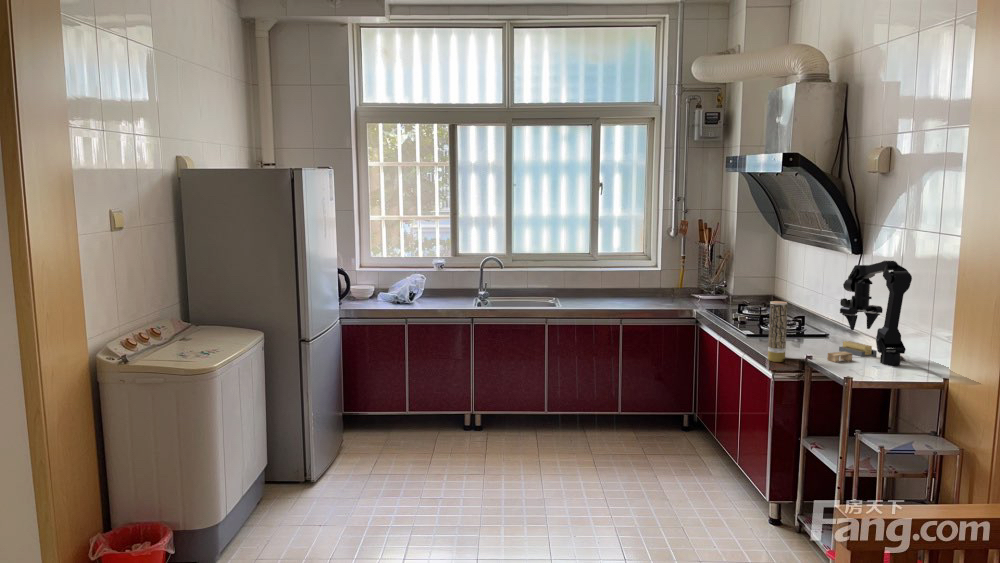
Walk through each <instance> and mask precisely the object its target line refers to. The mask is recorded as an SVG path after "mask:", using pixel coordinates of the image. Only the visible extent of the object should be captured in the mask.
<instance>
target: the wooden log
mask: <svg viewBox="0 0 1000 563" xmlns="http://www.w3.org/2000/svg"><path fill="white" fill-rule="evenodd" d="M769 302H770V303H769V320H768V321H769V323H768V344H767V345H768V346H767V360H768V361H769V362H774V363H784V362H785V359H786V350H787V348H786V346H787V327H788V302H787V301H782V300H781V301H780V300H773V301H772V300H771V301H769Z"/></svg>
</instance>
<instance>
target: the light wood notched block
mask: <svg viewBox="0 0 1000 563" xmlns="http://www.w3.org/2000/svg"><path fill="white" fill-rule="evenodd" d="M826 358H827V359H826V360H827V362H830V363H831V362H832V363H836V364H837V363H840V361H844V362H845V361H846V362H852V361H853V355H852V353H848V352H840V351H837V352H827V357H826Z"/></svg>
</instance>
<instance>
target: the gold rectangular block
mask: <svg viewBox="0 0 1000 563" xmlns="http://www.w3.org/2000/svg"><path fill="white" fill-rule="evenodd" d="M842 346H843V347H847V348H851V349H855V350H860V351H864V352H865V355H869V354H871V352H872V350H873V349H872V348H873V346H872V345H868V344H863V343H860V342H855V341H851V340H848V341H847V340H845V341H844V340H843V341H842Z"/></svg>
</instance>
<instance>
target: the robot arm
mask: <svg viewBox="0 0 1000 563" xmlns="http://www.w3.org/2000/svg"><path fill="white" fill-rule="evenodd" d="M881 273H882V277H883V279H884V280H885V281H886V283H885V286H886V287H887V290H888V292H889V293H888V294H889V295H888V301H887V306H886V310H885V311H886V312H885V316H884V323H883V324H884V325H883V326H882V327H879V328H878V329H877V332H876V333H877V334H876V336H875V338H876V339H875V343H876V351H877V352H878V353H879V354H880V358H879V363H880V364H882V365H884V366H889V367H891V366H892V367H900V364H901V354H903V355H904V354H905V353H906V347H905V345H904V343H903V341H902V334H901V332H900V329H899V323H900V320H901V319H900V318H901V313H902V306H903V299H904V295H905V293H906V292H907V291H908V290H909V289H910V286H911V284H912V280H913V277H912V274H911V273H910V272H909V270H907V268H905V267H903V266H901V265H900V264H899V263H898V262H896V261H895V260H883V261H880V262H876V263H872V264H869V265H868V264H855V265H854V266H853V268H852V270H851V272H850V274H849V275H848V277H847V279H846V280H844V282H843V284H842V285H843V289H844V290H845V291H847V292H849V293H850V292H851V293H854V295H851V299H847V298H845V297H844V298H841V299H840V306H841V307H840V308H839V314H841V315H842V316H844V317H845V318H846V319H847V323H848V325H849V328H850V331H854V330H855V328H856V325H857V324H856V323H857V319H858V315H857V314H858V313H864V314H865V317H866V329H867V330H870V329H871V327H872V326H873V324H874V322H876V320H877V319H878V317H879V316H880V315H881V314H883V307H882V306H881V305H876V304H875V305H874V304H870V300H873V299H872V296H870V294H871V293H870V291H871V285H873V284H874V283H873V281H871V280H870V279H871V278H873V277H875V276H876V274H877V275H878V274H881Z"/></svg>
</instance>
